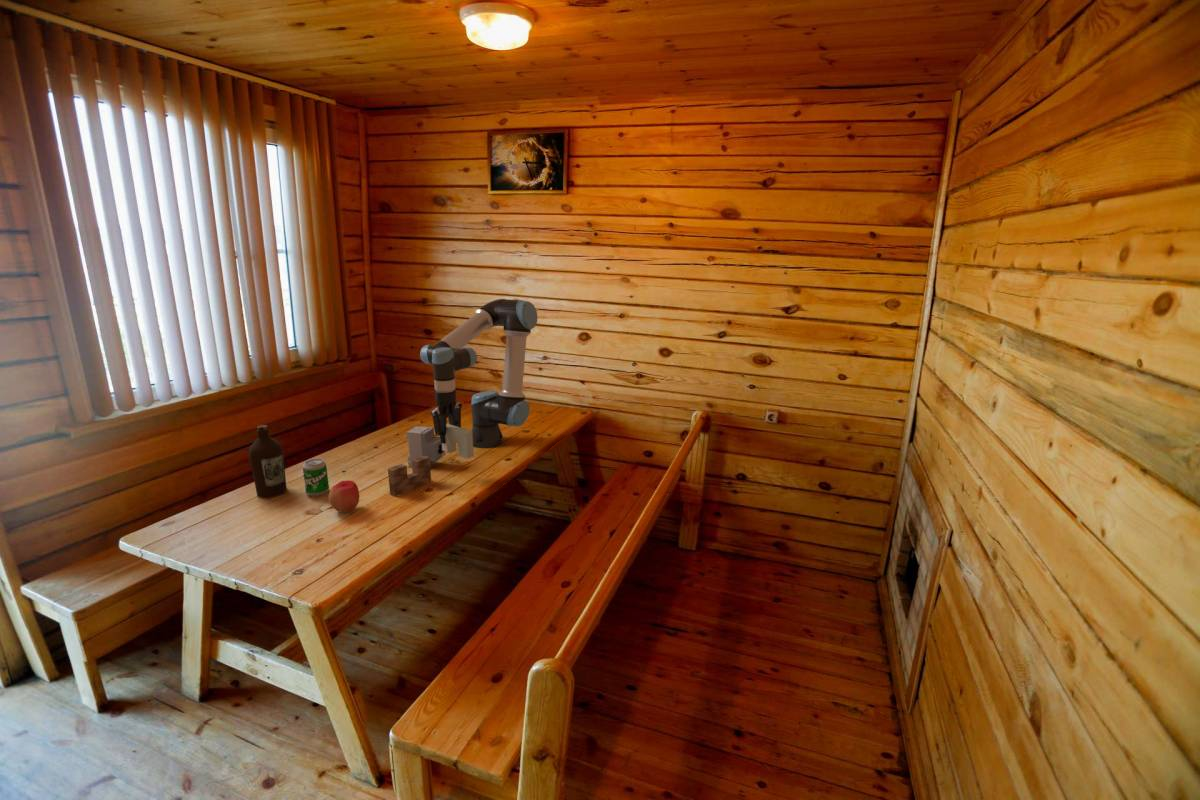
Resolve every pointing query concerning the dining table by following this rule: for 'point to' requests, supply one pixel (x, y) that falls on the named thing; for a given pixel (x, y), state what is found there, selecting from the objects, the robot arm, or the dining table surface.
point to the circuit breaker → (424, 444)
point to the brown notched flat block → (409, 476)
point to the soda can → (315, 477)
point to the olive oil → (267, 464)
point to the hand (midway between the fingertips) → (449, 449)
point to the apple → (344, 496)
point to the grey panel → (460, 440)
